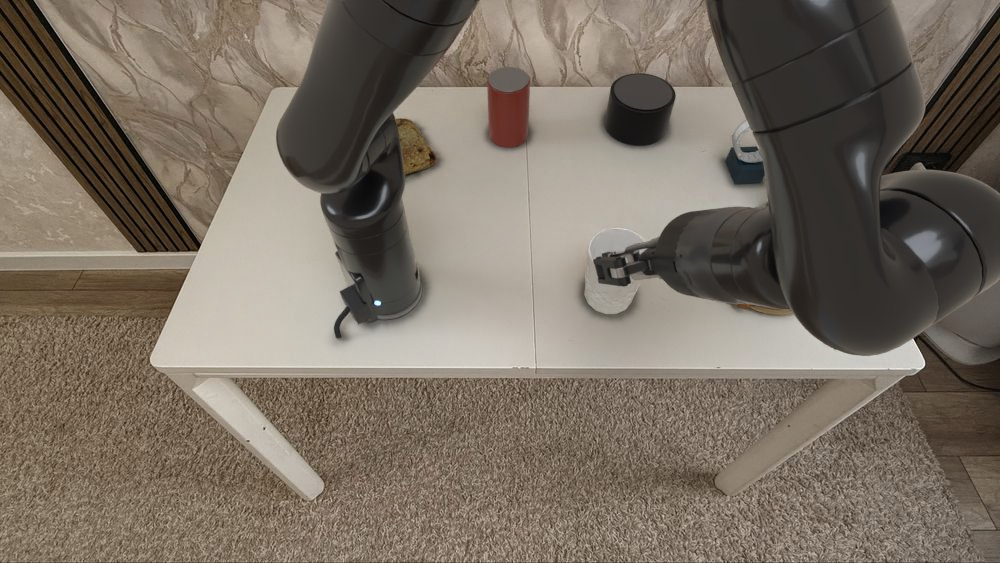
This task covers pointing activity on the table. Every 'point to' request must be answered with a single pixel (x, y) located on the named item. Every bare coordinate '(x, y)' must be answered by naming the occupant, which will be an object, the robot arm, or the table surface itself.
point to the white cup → (605, 295)
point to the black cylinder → (639, 109)
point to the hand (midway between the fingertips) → (642, 251)
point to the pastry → (414, 147)
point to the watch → (744, 159)
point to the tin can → (508, 106)
